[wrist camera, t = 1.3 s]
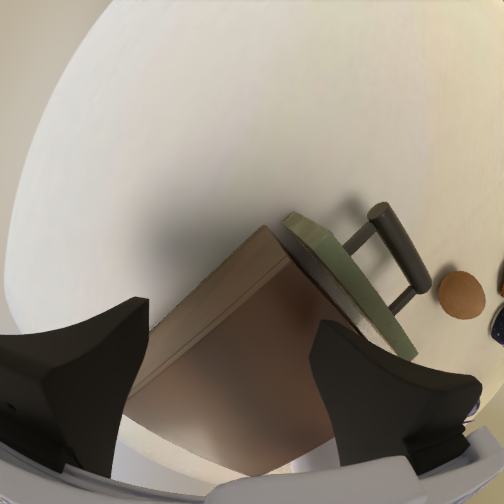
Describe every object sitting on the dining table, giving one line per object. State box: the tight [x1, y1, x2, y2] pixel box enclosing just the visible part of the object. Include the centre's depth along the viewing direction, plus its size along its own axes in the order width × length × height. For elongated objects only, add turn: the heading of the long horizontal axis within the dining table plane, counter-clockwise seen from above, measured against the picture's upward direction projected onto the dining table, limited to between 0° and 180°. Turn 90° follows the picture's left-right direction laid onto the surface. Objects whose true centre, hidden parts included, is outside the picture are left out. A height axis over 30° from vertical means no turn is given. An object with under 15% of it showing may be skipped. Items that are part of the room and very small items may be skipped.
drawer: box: [283, 202, 432, 362], centre depth 17 cm, size 17×11×7 cm
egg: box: [438, 271, 486, 320], centre depth 20 cm, size 4×4×6 cm
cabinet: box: [123, 225, 367, 477], centre depth 18 cm, size 14×13×9 cm
